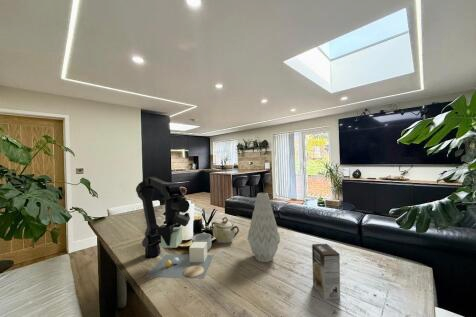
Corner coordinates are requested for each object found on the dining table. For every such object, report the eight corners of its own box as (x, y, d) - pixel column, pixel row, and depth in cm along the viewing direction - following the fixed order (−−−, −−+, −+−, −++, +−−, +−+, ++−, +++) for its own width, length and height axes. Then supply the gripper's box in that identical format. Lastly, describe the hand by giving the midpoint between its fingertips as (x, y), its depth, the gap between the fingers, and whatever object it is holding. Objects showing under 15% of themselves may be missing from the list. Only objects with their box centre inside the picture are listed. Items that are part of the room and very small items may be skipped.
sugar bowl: (244, 239, 127) (244, 215, 127) (232, 249, 114) (232, 222, 114) (218, 234, 136) (218, 212, 137) (204, 242, 123) (204, 218, 123)
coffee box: (312, 284, 80) (311, 243, 80) (327, 283, 81) (326, 242, 81) (323, 300, 71) (322, 254, 71) (341, 298, 71) (340, 253, 72)
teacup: (207, 255, 106) (207, 240, 106) (188, 254, 108) (188, 239, 108) (215, 245, 120) (215, 231, 120) (198, 243, 122) (198, 230, 122)
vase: (240, 258, 102) (239, 194, 102) (260, 248, 114) (259, 190, 115) (268, 270, 91) (266, 197, 91) (286, 257, 103) (285, 193, 103)
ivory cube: (189, 262, 99) (189, 247, 99) (193, 255, 106) (193, 241, 106) (204, 262, 98) (203, 247, 98) (207, 255, 105) (207, 241, 105)
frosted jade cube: (161, 247, 93) (160, 232, 93) (167, 241, 100) (167, 227, 100) (176, 247, 92) (176, 232, 92) (181, 241, 99) (181, 227, 99)
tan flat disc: (180, 277, 86) (180, 276, 86) (187, 266, 95) (187, 265, 95) (200, 277, 85) (200, 276, 85) (205, 266, 94) (205, 265, 94)
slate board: (144, 278, 87) (144, 276, 87) (166, 255, 107) (166, 254, 107) (204, 279, 84) (204, 278, 84) (213, 256, 105) (213, 255, 105)
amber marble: (163, 268, 93) (163, 261, 93) (166, 264, 96) (166, 258, 96) (170, 268, 93) (170, 261, 93) (172, 265, 96) (172, 258, 96)
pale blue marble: (171, 265, 96) (171, 259, 96) (174, 262, 99) (174, 256, 99) (177, 265, 95) (177, 259, 95) (180, 262, 98) (179, 256, 98)
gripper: (180, 214, 86) (181, 251, 86) (193, 205, 105) (194, 235, 105) (155, 214, 87) (156, 251, 87) (172, 205, 106) (173, 235, 106)
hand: (171, 242), depth 96 cm, fingers closed on frosted jade cube, 7 cm apart
